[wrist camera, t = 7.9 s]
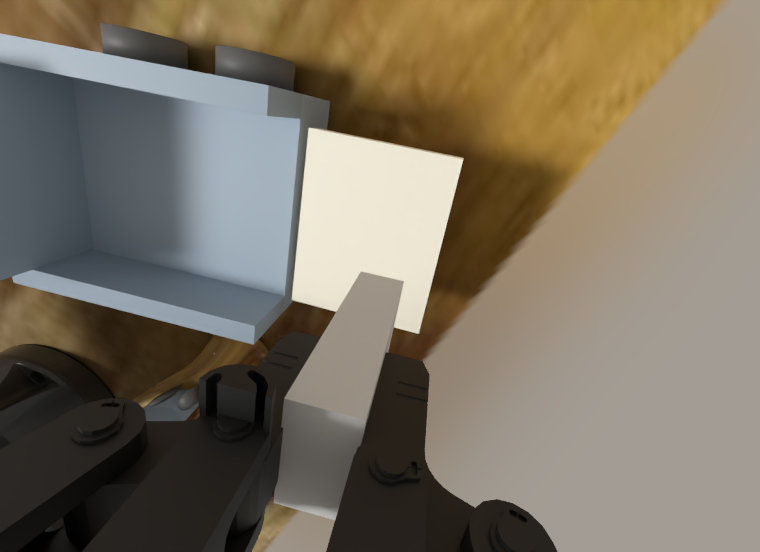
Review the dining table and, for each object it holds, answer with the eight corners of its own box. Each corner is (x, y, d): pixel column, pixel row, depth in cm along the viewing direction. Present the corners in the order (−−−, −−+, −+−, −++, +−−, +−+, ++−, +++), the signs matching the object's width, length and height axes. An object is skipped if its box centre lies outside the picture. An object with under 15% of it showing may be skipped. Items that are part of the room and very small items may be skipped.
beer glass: (294, 363, 32) (178, 539, 18) (249, 404, 34) (117, 586, 21) (231, 308, 31) (58, 450, 17) (190, 355, 34) (10, 511, 20)
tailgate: (291, 299, 23) (418, 333, 22) (308, 127, 19) (463, 159, 18) (301, 290, 24) (421, 322, 23) (319, 127, 21) (463, 157, 20)
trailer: (133, 259, 31) (-41, 331, 20) (115, 32, 25) (-154, -48, 14) (412, 327, 29) (390, 449, 18) (468, 98, 23) (488, 67, 12)
